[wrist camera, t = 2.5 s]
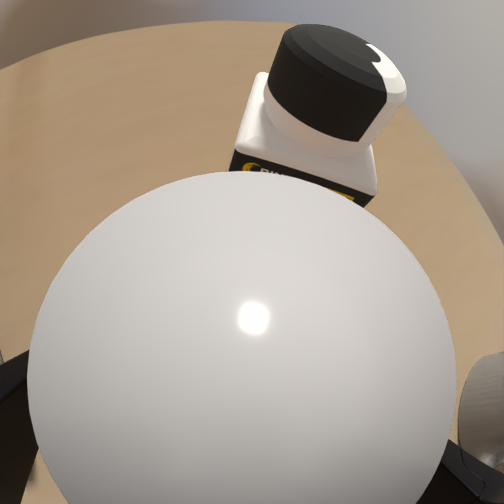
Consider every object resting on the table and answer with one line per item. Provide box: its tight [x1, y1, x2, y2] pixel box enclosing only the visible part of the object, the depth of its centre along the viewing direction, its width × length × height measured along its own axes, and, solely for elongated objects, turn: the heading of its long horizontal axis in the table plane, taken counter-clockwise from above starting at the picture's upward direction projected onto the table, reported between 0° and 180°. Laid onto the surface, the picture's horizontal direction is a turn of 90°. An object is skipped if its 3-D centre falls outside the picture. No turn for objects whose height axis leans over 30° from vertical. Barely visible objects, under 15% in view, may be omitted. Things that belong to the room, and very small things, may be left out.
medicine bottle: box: [227, 24, 407, 208], centre depth 15 cm, size 7×7×12 cm
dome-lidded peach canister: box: [27, 171, 457, 504], centre depth 9 cm, size 6×6×13 cm
